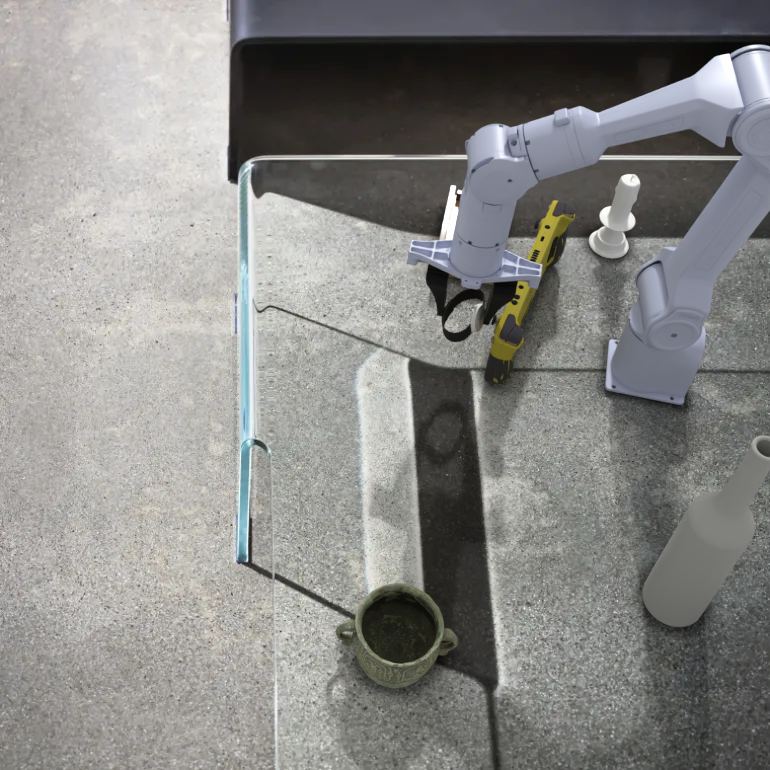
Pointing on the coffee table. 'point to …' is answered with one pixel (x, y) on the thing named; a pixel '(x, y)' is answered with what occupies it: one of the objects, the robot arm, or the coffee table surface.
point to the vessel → (397, 635)
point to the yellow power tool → (526, 292)
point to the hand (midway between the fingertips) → (463, 314)
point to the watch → (475, 319)
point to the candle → (616, 220)
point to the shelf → (451, 217)
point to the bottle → (706, 544)
